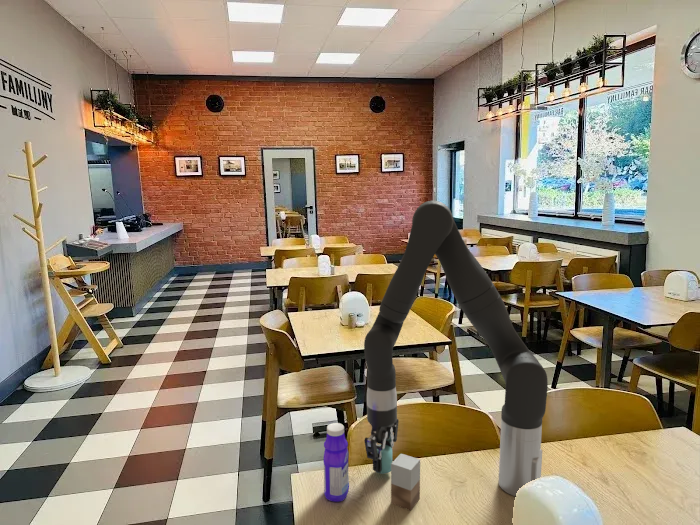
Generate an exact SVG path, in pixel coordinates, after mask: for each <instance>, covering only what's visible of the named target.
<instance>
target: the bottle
mask: <svg viewBox="0 0 700 525" xmlns="http://www.w3.org/2000/svg"><path fill="white" fill-rule="evenodd" d="M348 446H349V443H348V441H347V438H346V435H345V426H344V425H343V424H342V423H340V422H334V423H330V424H328V425H327V426H326V439H325V441H324V443H323V447H324V453H323V483H324V484H323V486H324V488H323V493H324V497H325V499H327V500H328V501H330V502H336V503H337V502H343V501H344V500H345V499H346V498H347V497H348V494H349V490H350V483H349V482H350V480H349V477H350V476H349V456H350V455H349V450H348Z"/></svg>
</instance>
